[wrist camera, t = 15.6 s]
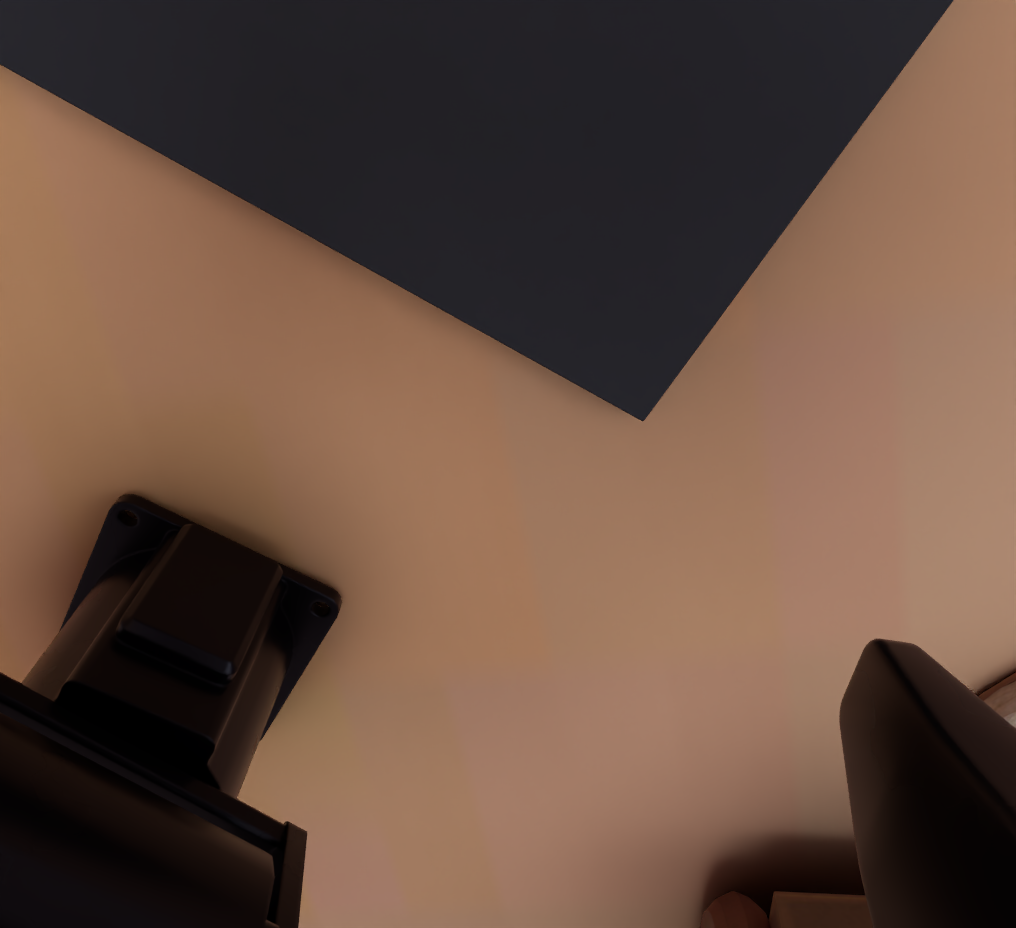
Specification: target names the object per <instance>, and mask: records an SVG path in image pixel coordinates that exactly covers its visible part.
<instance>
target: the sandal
mask: <svg viewBox="0 0 1016 928" xmlns="http://www.w3.org/2000/svg"><path fill="white" fill-rule="evenodd" d="M978 697H979V698H980V699H981V700H983V701H984V702H985V703H986V704H987V705H989V706H990V707H991V708H992V709H993V710H995V711H996V712H997V713H998V714H999V715H1000V716H1002V717H1003V718H1004V719H1005V720H1006V721H1008V722H1009V723H1010V724H1011V725H1012V726H1014V727H1015V728H1016V673H1014V674H1013V675H1011V676H1009V677H1008V678H1006V679H1005V680H1003V681H1001V682H1000V683H998V684H996V685H995V686H993V687H992V688H990V689H988V690H987V691H985V692H984V693H982V694H980V695H979V696H978Z"/></svg>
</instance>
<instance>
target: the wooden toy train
mask: <svg viewBox="0 0 1016 928" xmlns="http://www.w3.org/2000/svg"><path fill="white" fill-rule="evenodd" d="M700 928H873V924H872V920H871V916H870V912H869V908H868V904H867V900H866V896H865V895H844V894H822V893H800V892H778V891H774V895H773V900H772V905H771V910H770V916H769V921H768V918H767V916H766V913H765V912H764V911H763V910H762V909H761V908H760V907H759V906H758V905H757V904H756V903H755V902H754V901H752V900H751V899H750V898H749V897H747V896H744V895H742V894H740V893H737V892H735V891H731V892H729V893H727V894H725V895H723V896H720V897H718V898H716V899H715V900H714V901H713V902H712V904H711V905H710V906H709V907H708V908H707V909H706V910H705V912H704V913H703V916H702V921H701V926H700Z"/></svg>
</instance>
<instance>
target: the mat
mask: <svg viewBox="0 0 1016 928" xmlns="http://www.w3.org/2000/svg"><path fill="white" fill-rule="evenodd" d="M952 2H953V0H0V65H2V66H4V67H6V68H8V69H9V70H11V71H13V72H15V73H17V74H18V75H20V76H22V77H24V78H26V79H27V80H29V81H31V82H33V83H35V84H36V85H38V86H40V87H42V88H44V89H45V90H47V91H49V92H51V93H53V94H54V95H56V96H58V97H60V98H62V99H63V100H65V101H67V102H69V103H71V104H72V105H74V106H76V107H78V108H80V109H81V110H83V111H85V112H87V113H89V114H90V115H92V116H94V117H96V118H98V119H99V120H101V121H103V122H105V123H107V124H108V125H110V126H112V127H114V128H116V129H117V130H119V131H121V132H123V133H125V134H126V135H128V136H130V137H132V138H134V139H135V140H137V141H139V142H141V143H143V144H144V145H146V146H148V147H150V148H152V149H153V150H155V151H157V152H159V153H161V154H162V155H164V156H166V157H168V158H170V159H171V160H173V161H175V162H177V163H179V164H180V165H182V166H184V167H186V168H188V169H189V170H191V171H193V172H195V173H197V174H198V175H200V176H202V177H204V178H206V179H207V180H209V181H211V182H213V183H215V184H216V185H218V186H220V187H222V188H224V189H225V190H227V191H229V192H231V193H233V194H234V195H236V196H238V197H240V198H242V199H243V200H245V201H247V202H249V203H251V204H252V205H254V206H256V207H258V208H260V209H261V210H263V211H265V212H267V213H269V214H270V215H272V216H274V217H276V218H278V219H279V220H281V221H283V222H285V223H287V224H288V225H290V226H292V227H294V228H296V229H297V230H299V231H301V232H303V233H305V234H306V235H308V236H310V237H312V238H314V239H315V240H317V241H319V242H321V243H323V244H324V245H326V246H328V247H330V248H332V249H333V250H335V251H337V252H339V253H341V254H342V255H344V256H346V257H348V258H350V259H351V260H353V261H355V262H357V263H359V264H360V265H362V266H364V267H366V268H368V269H369V270H371V271H373V272H375V273H377V274H378V275H380V276H382V277H384V278H386V279H387V280H389V281H391V282H393V283H395V284H396V285H398V286H400V287H402V288H404V289H405V290H407V291H409V292H411V293H413V294H414V295H416V296H418V297H420V298H422V299H423V300H425V301H427V302H429V303H431V304H432V305H434V306H436V307H438V308H440V309H441V310H443V311H445V312H447V313H449V314H450V315H452V316H454V317H456V318H458V319H459V320H461V321H463V322H465V323H467V324H468V325H470V326H472V327H474V328H476V329H477V330H479V331H481V332H483V333H485V334H486V335H488V336H490V337H492V338H494V339H495V340H497V341H499V342H501V343H503V344H504V345H506V346H508V347H510V348H512V349H513V350H515V351H517V352H519V353H521V354H522V355H524V356H526V357H528V358H530V359H531V360H533V361H535V362H537V363H539V364H540V365H542V366H544V367H546V368H548V369H549V370H551V371H553V372H555V373H557V374H558V375H560V376H562V377H564V378H566V379H567V380H569V381H571V382H573V383H575V384H576V385H578V386H580V387H582V388H584V389H585V390H587V391H589V392H591V393H593V394H594V395H596V396H598V397H600V398H602V399H603V400H605V401H607V402H609V403H611V404H612V405H614V406H616V407H618V408H620V409H621V410H623V411H625V412H627V413H629V414H630V415H632V416H634V417H636V418H638V419H639V420H641V421H644V420H645V419H646V417H647V416H648V415H649V413H650V412H651V410H652V409H653V408H654V406H655V405H656V404H657V402H658V401H659V400H660V398H661V397H662V396H663V394H664V393H665V391H666V390H667V389H668V387H669V386H670V385H671V383H672V382H673V381H674V379H675V378H676V377H677V375H678V374H679V372H680V371H681V370H682V368H683V367H684V366H685V364H686V363H687V362H688V360H689V359H690V357H691V356H692V355H693V353H694V352H695V351H696V349H697V348H698V347H699V345H700V344H701V343H702V341H703V340H704V338H705V337H706V336H707V334H708V333H709V332H710V330H711V329H712V328H713V326H714V325H715V324H716V322H717V321H718V319H719V318H720V317H721V315H722V314H723V313H724V311H725V310H726V309H727V307H728V306H729V305H730V303H731V302H732V300H733V299H734V298H735V296H736V295H737V294H738V292H739V291H740V290H741V288H742V287H743V286H744V284H745V283H746V281H747V280H748V279H749V277H750V276H751V275H752V273H753V272H754V271H755V269H756V268H757V266H758V265H759V264H760V262H761V261H762V260H763V258H764V257H765V256H766V254H767V253H768V252H769V250H770V249H771V247H772V246H773V245H774V243H775V242H776V241H777V239H778V238H779V237H780V235H781V234H782V233H783V231H784V230H785V228H786V227H787V226H788V224H789V223H790V222H791V220H792V219H793V218H794V216H795V215H796V214H797V212H798V211H799V209H800V208H801V207H802V205H803V204H804V203H805V201H806V200H807V199H808V197H809V196H810V195H811V193H812V192H813V190H814V189H815V188H816V186H817V185H818V184H819V182H820V181H821V180H822V178H823V177H824V176H825V174H826V173H827V171H828V170H829V169H830V167H831V166H832V165H833V163H834V162H835V161H836V159H837V158H838V156H839V155H840V154H841V152H842V151H843V150H844V148H845V147H846V146H847V144H848V143H849V142H850V140H851V139H852V137H853V136H854V135H855V133H856V132H857V131H858V129H859V128H860V127H861V125H862V124H863V123H864V121H865V120H866V118H867V117H868V116H869V114H870V113H871V112H872V110H873V109H874V108H875V106H876V105H877V104H878V102H879V101H880V99H881V98H882V97H883V95H884V94H885V93H886V91H887V90H888V89H889V87H890V86H891V85H892V83H893V82H894V80H895V79H896V78H897V76H898V75H899V74H900V72H901V71H902V70H903V68H904V67H905V66H906V64H907V63H908V61H909V60H910V59H911V57H912V56H913V55H914V53H915V52H916V51H917V49H918V48H919V46H920V45H921V44H922V42H923V41H924V40H925V38H926V37H927V36H928V34H929V33H930V32H931V30H932V29H933V27H934V26H935V25H936V23H937V22H938V21H939V19H940V18H941V17H942V15H943V14H944V13H945V11H946V10H947V8H948V7H949V6H950V4H951V3H952Z"/></svg>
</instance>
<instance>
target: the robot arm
mask: <svg viewBox="0 0 1016 928" xmlns="http://www.w3.org/2000/svg"><path fill="white" fill-rule="evenodd" d="M125 510H127V511H131V512H132V513H134V514H135V515H136V517H137V519H136V518H132V517H130V516H129V515H127V513H126V512H125ZM316 602H323V603H325V604H327V605H328V607H321V606H319V605H318V604H316ZM341 604H342V600H341V596H340V595H339V594H338V592H337V591H335V590H334V589H333V588H331V587H329V586H327V585H325V584H323V583H321V582H318V581H316V580H314V579H312V578H310V577H308V576H306V575H304V574H302V573H300V572H297V571H295V570H293V569H291V568H289V567H287V566H285V565H283V564H281V563H279V562H277V561H274V560H272V559H270V558H268V557H266V556H264V555H262V554H260V553H258V552H256V551H253V550H251V549H249V548H247V547H245V546H243V545H241V544H239V543H237V542H235V541H232V540H230V539H228V538H226V537H224V536H222V535H220V534H218V533H216V532H214V531H211V530H209V529H207V528H205V527H203V526H201V525H199V524H197V523H195V522H193V521H190V520H188V519H186V518H184V517H182V516H180V515H178V514H176V513H174V512H172V511H169V510H167V509H165V508H163V507H161V506H159V505H157V504H155V503H153V502H151V501H149V500H146V499H144V498H142V497H140V496H137V495H134V494H125V495H123V496H121V497H119V499H118V500H117V501H116V502H115V503H114V505H113V506H112V507H111V509H110V510H109V512H108V515H107V517H106V519H105V522H104V524H103V527H102V529H101V532H100V534H99V536H98V539H97V541H96V544H95V546H94V549H93V551H92V553H91V556H90V558H89V561H88V563H87V566H86V568H85V570H84V573H83V575H82V578H81V580H80V583H79V585H78V588H77V590H76V592H75V595H74V597H73V600H72V602H71V605H70V607H69V609H68V612H67V614H66V617H65V619H64V622H63V624H62V626H61V629H60V631H59V633H58V635H57V636H56V637H55V639H54V640H53V641H52V643H51V644H50V645H49V647H48V648H47V649H46V651H45V652H44V653H43V655H42V656H41V657H40V659H39V660H38V661H37V663H36V664H35V665H34V667H33V668H32V669H31V671H30V672H29V673H28V675H27V676H26V677H25V679H24V680H23V681H22V683H20V682H18V681H16V680H14V679H12V678H10V677H8V676H7V675H5V674H3V673H1V672H0V928H298V924H299V914H300V903H301V893H302V882H303V872H304V861H305V851H306V840H307V831H305V830H303V829H301V828H299V827H297V826H295V825H294V824H292V823H290V822H288V821H286V822H285V823H284V824H283V823H281V822H279V821H277V820H275V819H273V818H271V817H270V816H268V815H266V814H264V813H262V812H260V811H258V810H256V809H255V808H253V807H251V806H249V805H247V804H245V803H243V802H242V801H240V800H238V799H237V796H238V794H239V791H240V789H241V786H242V784H243V781H244V779H245V776H246V774H247V771H248V768H249V766H250V763H251V761H252V758H253V756H254V753H255V751H256V748H257V746H258V743H259V741H260V740H261V739H262V738H263V737H264V735H265V733H266V732H267V730H268V728H269V727H270V725H271V724H272V722H273V720H274V719H275V717H276V715H277V714H278V712H279V711H280V709H281V707H282V706H283V704H284V702H285V701H286V699H287V698H288V696H289V694H290V693H291V691H292V689H293V688H294V686H295V685H296V683H297V681H298V680H299V678H300V676H301V675H302V673H303V672H304V670H305V668H306V667H307V665H308V663H309V662H310V660H311V659H312V657H313V655H314V654H315V652H316V650H317V649H318V647H319V645H320V644H321V642H322V641H323V639H324V637H325V636H326V634H327V632H328V631H329V629H330V628H331V626H332V624H333V623H334V621H335V619H336V618H337V616H338V613H339V610H340V607H341ZM840 730H841V738H842V745H843V753H844V760H845V768H846V775H847V783H848V790H849V798H850V805H851V813H852V820H853V828H854V835H855V843H856V850H857V856H858V862H859V868H860V873H861V878H862V882H863V887H864V891H865V896H866V900H867V904H868V908H869V912H870V916H871V920H872V924H873V928H1016V728H1015V727H1014V726H1012V725H1011V724H1010V723H1009V722H1008V721H1006V720H1005V719H1004V718H1003V717H1002V716H1000V715H999V714H998V713H997V712H996V711H995V710H993V709H992V708H991V707H990V706H989V705H987V704H986V703H985V702H984V701H983V700H981V699H980V698H979V697H978V696H977V695H976V694H974V693H973V692H972V691H971V690H970V689H968V688H967V687H966V686H965V685H964V684H962V683H961V682H960V681H959V680H958V679H956V678H955V677H954V676H953V675H952V674H951V673H949V672H948V671H947V670H946V669H945V668H943V667H942V666H941V665H940V664H939V663H937V662H936V661H935V660H934V659H933V658H931V657H930V656H929V655H928V654H927V653H926V652H924V651H923V650H922V649H921V648H919V647H918V646H916V645H914V644H911V643H906V642H899V641H892V640H885V639H874V640H872V641H870V642H869V643H868V644H867V645H866V647H865V648H864V650H863V652H862V654H861V657H860V659H859V661H858V664H857V666H856V668H855V671H854V673H853V675H852V678H851V680H850V682H849V685H848V687H847V689H846V692H845V694H844V697H843V699H842V703H841V707H840Z"/></svg>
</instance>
